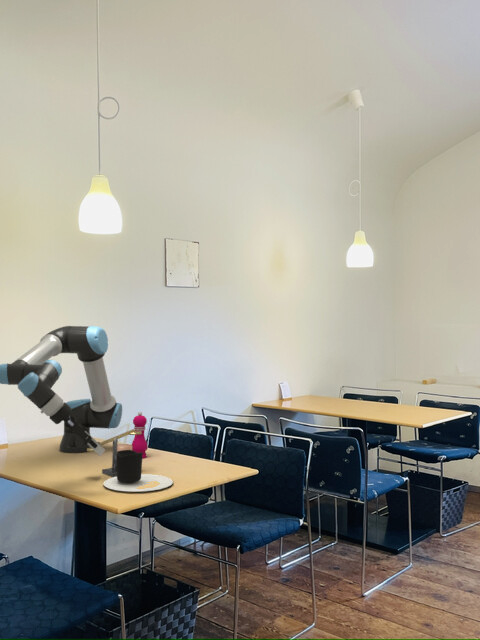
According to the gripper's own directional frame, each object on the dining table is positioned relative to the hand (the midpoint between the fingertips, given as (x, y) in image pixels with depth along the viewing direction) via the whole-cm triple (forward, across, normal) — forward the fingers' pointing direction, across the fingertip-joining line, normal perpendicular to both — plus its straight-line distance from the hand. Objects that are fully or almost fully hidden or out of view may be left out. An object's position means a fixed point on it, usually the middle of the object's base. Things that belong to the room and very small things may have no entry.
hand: (98, 449), depth 215 cm
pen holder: (+16, +1, -1) cm, 16 cm away
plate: (+19, +5, 0) cm, 20 cm away
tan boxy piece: (+19, -23, 0) cm, 30 cm away
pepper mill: (+28, -41, +8) cm, 50 cm away
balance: (+15, -14, -3) cm, 21 cm away
